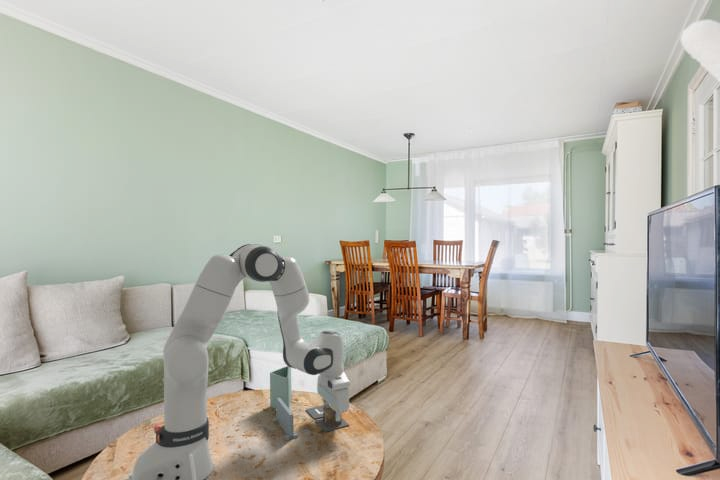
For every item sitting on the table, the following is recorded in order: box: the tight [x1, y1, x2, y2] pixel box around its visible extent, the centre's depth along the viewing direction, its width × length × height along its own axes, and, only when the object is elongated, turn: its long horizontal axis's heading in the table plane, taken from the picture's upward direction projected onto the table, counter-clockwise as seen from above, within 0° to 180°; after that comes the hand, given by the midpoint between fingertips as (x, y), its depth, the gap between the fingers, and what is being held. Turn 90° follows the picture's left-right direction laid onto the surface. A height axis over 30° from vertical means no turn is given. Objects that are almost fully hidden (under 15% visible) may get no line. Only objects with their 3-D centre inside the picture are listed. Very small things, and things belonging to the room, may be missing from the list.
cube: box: [322, 404, 343, 427], centre depth 134 cm, size 5×5×5 cm
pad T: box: [315, 418, 350, 433], centre depth 134 cm, size 9×9×1 cm
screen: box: [272, 397, 299, 441], centre depth 131 cm, size 4×16×8 cm, turn 28°
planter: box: [269, 366, 292, 410], centre depth 150 cm, size 16×8×20 cm, turn 7°
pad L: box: [305, 404, 324, 421], centre depth 143 cm, size 9×9×1 cm
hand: (332, 414), depth 134 cm, fingers open, 8 cm apart
